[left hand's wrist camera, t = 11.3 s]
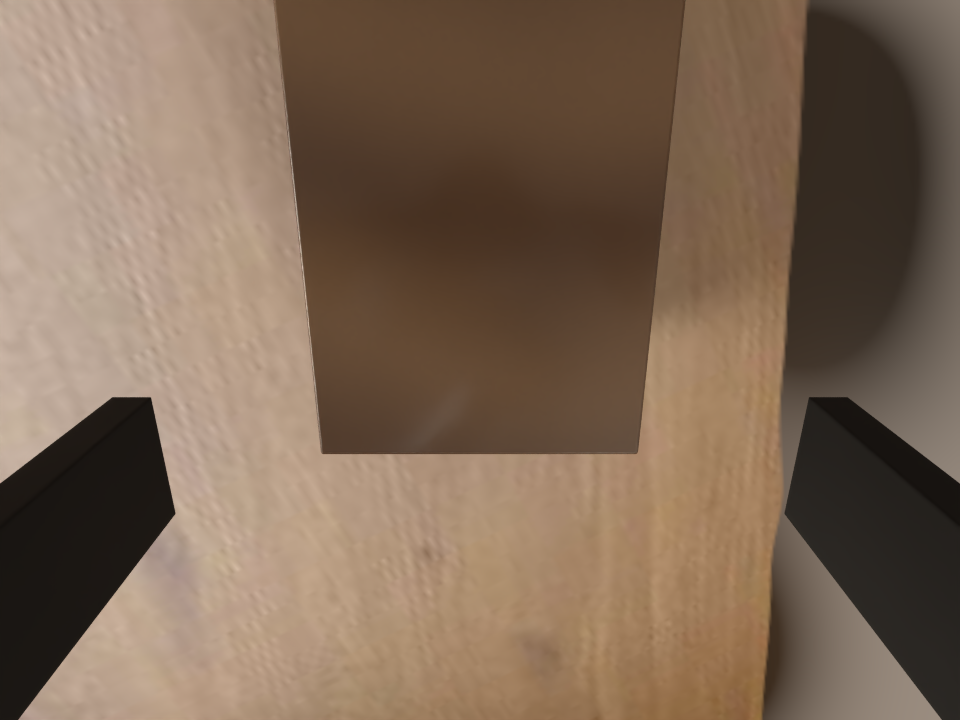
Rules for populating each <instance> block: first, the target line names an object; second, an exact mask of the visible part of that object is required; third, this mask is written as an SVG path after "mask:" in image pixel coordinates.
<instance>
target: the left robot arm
mask: <svg viewBox="0 0 960 720" xmlns="http://www.w3.org/2000/svg"><path fill="white" fill-rule="evenodd" d="M174 515H175V509H174V504H173V499H172V495H171V490H170V485H169V481H168V476H167V471H166V466H165V462H164V457H163V452H162V447H161V443H160V438H159V433H158V429H157V424H156V419H155V414H154V410H153V405H152V400H151V397H112V398H111V399H110V400H108V401H107V402H106V403H105V404H103V405H102V406H101V407H99V408H98V409H97V410H95V411H94V412H93V413H91V414H90V415H89V416H88V417H86V418H85V419H84V420H82V421H81V422H80V423H78V424H77V425H76V426H75V427H73V428H72V429H71V430H69V431H68V432H67V433H65V434H64V435H63V436H62V437H60V438H59V439H58V440H56V441H55V442H54V443H52V444H51V445H50V446H49V447H47V448H46V449H45V450H43V451H42V452H41V453H39V454H38V455H37V456H35V457H34V458H33V459H32V460H30V461H29V462H28V463H26V464H25V465H24V466H22V467H21V468H20V469H19V470H17V471H16V472H15V473H13V474H12V475H11V476H9V477H8V478H7V479H6V480H4V481H3V482H2V483H0V720H18V719H19V718H20V717H21V715H22V714H23V713H24V711H25V710H26V709H27V707H28V706H29V705H30V703H31V702H32V701H33V700H34V698H35V697H36V696H37V694H38V693H39V692H40V690H41V689H42V688H43V686H44V685H45V684H46V683H47V681H48V680H49V679H50V677H51V676H52V675H53V673H54V672H55V671H56V669H57V668H58V667H59V665H60V664H61V663H62V662H63V660H64V659H65V658H66V656H67V655H68V654H69V652H70V651H71V650H72V648H73V647H74V646H75V645H76V643H77V642H78V641H79V639H80V638H81V637H82V635H83V634H84V633H85V631H86V630H87V629H88V628H89V626H90V625H91V624H92V622H93V621H94V620H95V618H96V617H97V616H98V614H99V613H100V612H101V611H102V609H103V608H104V607H105V605H106V604H107V603H108V601H109V600H110V599H111V597H112V596H113V595H114V594H115V592H116V591H117V590H118V588H119V587H120V586H121V584H122V583H123V582H124V580H125V579H126V578H127V577H128V575H129V574H130V573H131V571H132V570H133V569H134V567H135V566H136V565H137V563H138V562H139V561H140V559H141V558H142V557H143V556H144V554H145V553H146V552H147V550H148V549H149V548H150V546H151V545H152V544H153V542H154V541H155V540H156V539H157V537H158V536H159V535H160V533H161V532H162V531H163V529H164V528H165V527H166V525H167V524H168V523H169V522H170V520H171V519H172V518H173V516H174ZM785 515H786V516H787V518H788V519H789V520H790V521H791V523H792V524H793V525H794V527H795V528H796V529H797V531H798V532H799V533H800V535H801V536H802V537H803V539H804V540H805V541H806V542H807V544H808V545H809V546H810V548H811V549H812V550H813V552H814V553H815V554H816V555H817V557H818V558H819V559H820V561H821V562H822V563H823V565H824V566H825V567H826V569H827V570H828V571H829V573H830V574H831V575H832V576H833V578H834V579H835V580H836V582H837V583H838V584H839V586H840V587H841V588H842V590H843V591H844V592H845V594H846V595H847V596H848V597H849V599H850V600H851V601H852V603H853V604H854V605H855V607H856V608H857V609H858V610H859V612H860V613H861V614H862V616H863V617H864V618H865V620H866V621H867V622H868V624H869V625H870V626H871V627H872V629H873V630H874V631H875V633H876V634H877V635H878V637H879V638H880V639H881V641H882V642H883V643H884V645H885V646H886V647H887V648H888V650H889V651H890V652H891V654H892V655H893V656H894V658H895V659H896V660H897V662H898V663H899V664H900V665H901V667H902V668H903V669H904V671H905V672H906V673H907V675H908V676H909V677H910V679H911V680H912V681H913V682H914V684H915V685H916V686H917V688H918V689H919V690H920V692H921V693H922V694H923V696H924V697H925V698H926V700H927V701H928V702H929V703H930V705H931V706H932V707H933V709H934V710H935V711H936V713H937V714H938V715H939V716H940V718H941V719H942V720H960V483H958V482H957V481H956V480H954V479H953V478H952V477H951V476H949V475H948V474H947V473H945V472H944V471H943V470H941V469H940V468H939V467H938V466H936V465H935V464H934V463H932V462H931V461H930V460H928V459H927V458H926V457H924V456H923V455H922V454H921V453H919V452H918V451H917V450H915V449H914V448H913V447H911V446H910V445H909V444H908V443H906V442H905V441H904V440H902V439H901V438H900V437H898V436H897V435H896V434H895V433H893V432H892V431H891V430H889V429H888V428H887V427H885V426H884V425H883V424H882V423H880V422H879V421H878V420H876V419H875V418H874V417H872V416H871V415H870V414H868V413H867V412H866V411H865V410H863V409H862V408H861V407H859V406H858V405H857V404H855V403H854V402H853V401H852V400H850V399H849V398H847V397H809V400H808V405H807V410H806V414H805V419H804V424H803V429H802V433H801V438H800V443H799V448H798V452H797V457H796V462H795V466H794V471H793V476H792V481H791V485H790V490H789V495H788V499H787V504H786V509H785Z"/></svg>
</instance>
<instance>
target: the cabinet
mask: <svg viewBox="0 0 960 720" xmlns="http://www.w3.org/2000/svg"><path fill="white" fill-rule="evenodd" d="M684 8H685V0H274V10H275V19H276V29H277V38H278V48H279V57H280V67H281V76H282V86H283V95H284V105H285V114H286V124H287V133H288V143H289V152H290V162H291V171H292V181H293V190H294V200H295V209H296V219H297V228H298V238H299V247H300V257H301V266H302V275H303V285H304V294H305V304H306V313H307V323H308V332H309V342H310V351H311V361H312V370H313V380H314V389H315V399H316V408H317V418H318V427H319V437H320V446H321V452H322V454H637V452H638V446H639V437H640V427H641V418H642V408H643V399H644V389H645V380H646V370H647V360H648V351H649V341H650V332H651V322H652V313H653V303H654V294H655V284H656V275H657V265H658V256H659V246H660V237H661V227H662V218H663V208H664V199H665V189H666V179H667V170H668V160H669V151H670V141H671V132H672V122H673V113H674V103H675V94H676V84H677V75H678V65H679V56H680V46H681V37H682V27H683V17H684Z"/></svg>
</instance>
